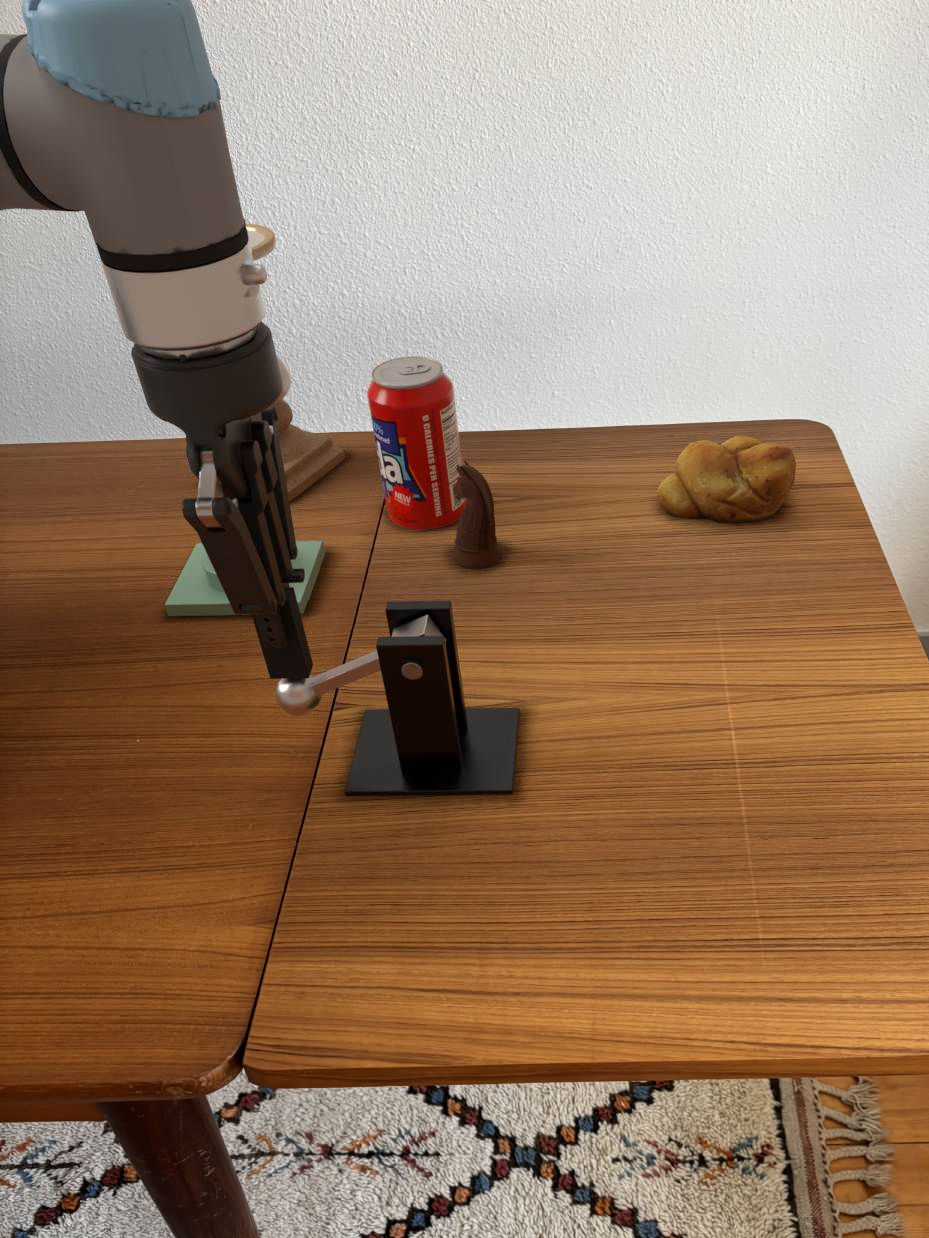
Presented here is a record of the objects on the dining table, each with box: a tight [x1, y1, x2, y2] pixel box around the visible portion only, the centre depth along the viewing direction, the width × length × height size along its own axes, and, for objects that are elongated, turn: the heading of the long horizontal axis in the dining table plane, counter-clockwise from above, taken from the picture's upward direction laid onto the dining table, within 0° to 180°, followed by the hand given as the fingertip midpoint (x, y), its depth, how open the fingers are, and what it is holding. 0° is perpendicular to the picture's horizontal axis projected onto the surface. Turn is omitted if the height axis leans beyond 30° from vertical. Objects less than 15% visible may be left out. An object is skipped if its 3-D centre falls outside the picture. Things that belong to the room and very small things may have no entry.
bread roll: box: [656, 434, 797, 523], centre depth 101 cm, size 13×10×8 cm
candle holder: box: [245, 222, 346, 502], centre depth 104 cm, size 11×11×24 cm
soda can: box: [366, 355, 468, 531], centre depth 100 cm, size 8×8×15 cm
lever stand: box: [344, 600, 521, 797], centre depth 74 cm, size 12×9×13 cm
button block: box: [164, 540, 326, 617], centre depth 95 cm, size 12×10×4 cm
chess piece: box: [452, 460, 502, 570], centre depth 95 cm, size 5×5×10 cm
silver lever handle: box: [274, 615, 446, 717], centre depth 73 cm, size 13×3×3 cm, turn 88°
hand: (291, 671), depth 73 cm, fingers closed
